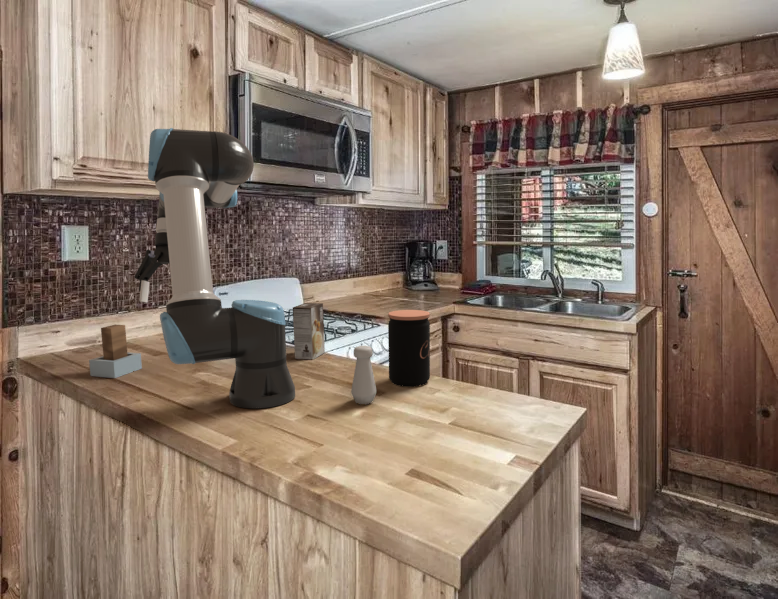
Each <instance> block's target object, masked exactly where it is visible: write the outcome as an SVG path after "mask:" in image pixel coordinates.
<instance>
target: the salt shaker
mask: <svg viewBox="0 0 778 599" xmlns="http://www.w3.org/2000/svg"><path fill="white" fill-rule="evenodd" d="M373 354H374V353H373V348H372V347H371V346H369V345H358V346H356V347H354V348H353V357H355V358H356V359H355V360H356V361H355V368H354V373H353V379H352V385H351V390H350V394H351V396H352V398H353V400H354V402H355V404H357V403H359V404H358V405H361V404H365V405H370V404H369V403H371V402H372V401H373V402H374V400H375V397H376V394H377V387H376V381H375V376H374V371H373V366H372V361H371V358H372V357H373ZM373 402H372V403H373ZM372 403H371V404H372Z"/></svg>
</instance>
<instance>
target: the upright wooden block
mask: <svg viewBox="0 0 778 599" xmlns="http://www.w3.org/2000/svg"><path fill="white" fill-rule="evenodd" d="M100 332H101V334H100V336H101V343H102V356H103V357H104V360H112V361H114V360H117V359H120V358H123V357H127V356H128V354H127V352H128V345H127V343H128V342H127V332H126V325H125V324H111V325H107V326H102V327H101V328H100Z"/></svg>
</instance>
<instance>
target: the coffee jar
mask: <svg viewBox="0 0 778 599" xmlns="http://www.w3.org/2000/svg"><path fill="white" fill-rule="evenodd" d="M387 315H388V318H389V321H388V325H387V326H388V327H387V330H388V335H387V336H388V338H387V339H388V340H387V341H388V378H389V380H390V382H391V383H392V385H395V386H399V387H406V388H413V387H414V386H415V387H420V386H419V385H421V386H424V385H426V384H427V383H428V381H429V380H430V377H431V334H430V333H431V332H430V331H431V323H430V320H429V318H430V317H431V316H430V315H431V314H430V312H429V311H426V310H420V309H399V310H398V309H397V310H392V311H389V312H388V314H387ZM423 384H424V385H423Z"/></svg>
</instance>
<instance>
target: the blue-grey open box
mask: <svg viewBox="0 0 778 599" xmlns="http://www.w3.org/2000/svg"><path fill="white" fill-rule="evenodd" d="M127 354H128V356H127V357H123V358H120V359H117V360H114V361H112V360H104V357H103V355H101V356H98V357H95V358H90V359H89V360H88V362H89V364H88V365H89V373H90V374H89V375H90V376H91V377H97V378H98V377H100V378H110V379H117V378H119V377H122V376H125V375H128V374H130V373H133V371H134V372H136V371H139V370H142V369H143V364H142V353H141V352H131V351H130V352H128V351H127Z"/></svg>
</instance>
